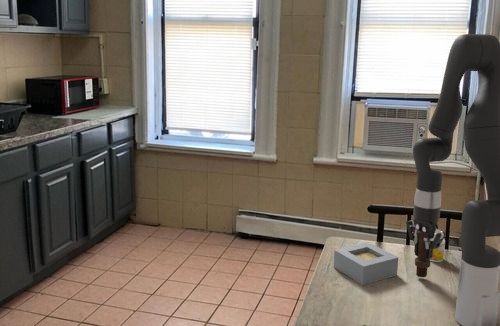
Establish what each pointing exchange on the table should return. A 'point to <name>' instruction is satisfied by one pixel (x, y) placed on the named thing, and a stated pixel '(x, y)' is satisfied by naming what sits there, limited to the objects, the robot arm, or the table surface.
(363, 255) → the beige square tile
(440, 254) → the supplement bottle
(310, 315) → the table surface
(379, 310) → the table surface
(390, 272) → the socket block
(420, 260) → the bolt
